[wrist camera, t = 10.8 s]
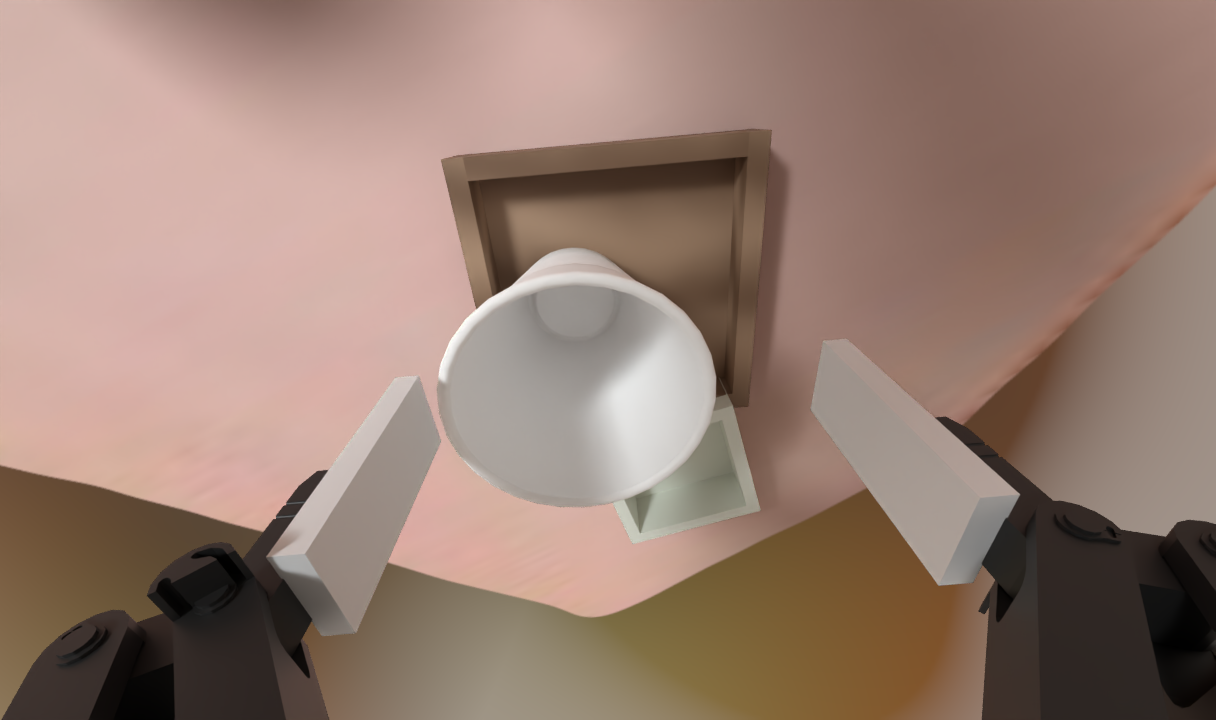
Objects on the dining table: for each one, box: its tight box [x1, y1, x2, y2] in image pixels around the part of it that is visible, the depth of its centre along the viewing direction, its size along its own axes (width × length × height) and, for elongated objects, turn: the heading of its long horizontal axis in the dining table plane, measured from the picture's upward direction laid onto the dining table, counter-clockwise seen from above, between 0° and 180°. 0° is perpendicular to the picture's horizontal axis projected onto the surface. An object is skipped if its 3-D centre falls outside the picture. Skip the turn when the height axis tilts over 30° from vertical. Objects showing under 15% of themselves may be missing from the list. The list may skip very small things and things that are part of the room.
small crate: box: [613, 378, 761, 544], centre depth 30 cm, size 9×9×4 cm
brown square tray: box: [441, 129, 772, 408], centre depth 25 cm, size 15×15×3 cm
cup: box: [437, 248, 716, 507], centre depth 21 cm, size 10×10×11 cm
